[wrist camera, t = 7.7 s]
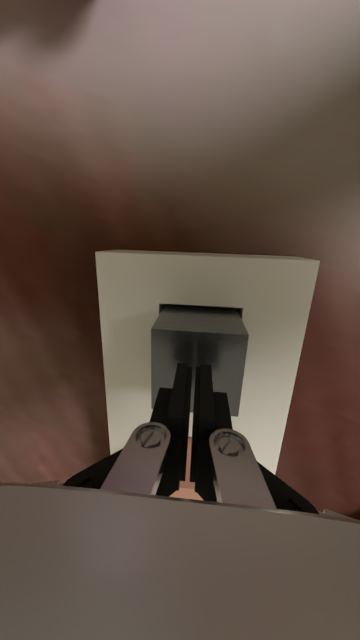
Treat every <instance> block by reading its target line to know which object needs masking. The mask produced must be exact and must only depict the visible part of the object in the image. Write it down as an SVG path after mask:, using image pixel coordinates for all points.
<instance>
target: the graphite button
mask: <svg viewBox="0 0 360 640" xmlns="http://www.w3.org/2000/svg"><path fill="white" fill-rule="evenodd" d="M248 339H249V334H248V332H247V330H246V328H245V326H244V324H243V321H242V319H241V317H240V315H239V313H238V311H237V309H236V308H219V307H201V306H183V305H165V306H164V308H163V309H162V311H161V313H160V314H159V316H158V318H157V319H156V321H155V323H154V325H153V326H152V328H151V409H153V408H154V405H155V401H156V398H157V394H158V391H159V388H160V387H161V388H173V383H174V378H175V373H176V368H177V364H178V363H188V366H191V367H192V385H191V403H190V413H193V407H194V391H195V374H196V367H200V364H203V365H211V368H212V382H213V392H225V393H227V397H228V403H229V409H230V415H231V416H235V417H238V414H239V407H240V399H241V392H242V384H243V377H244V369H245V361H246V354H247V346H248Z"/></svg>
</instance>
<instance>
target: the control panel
mask: <svg viewBox="0 0 360 640" xmlns="http://www.w3.org/2000/svg"><path fill="white" fill-rule="evenodd" d="M95 257H96V270H97V283H98V296H99V310H100V323H101V336H102V350H103V363H104V376H105V390H106V403H107V416H108V430H109V443H110V455H112V454H113V453H115V452H117V451H119V450H121V449H122V448H124V446H125V444H126V443H127V441H128V439H129V437H130V436H131V434H132V432H133V431H134V430H135V428H137V427H138V426H139V425H141V424H144V423H148V422H150V418H151V415H152V412H153V409H151V328H152V326H153V325H154V323H155V321H156V319H157V318H158V316H159V314H160V313H161V311H162V309H163V308H164V306H165V305H167V304H180V305H198V306H216V307H234V308H236V309H237V311H238V313H239V315H240V317H241V319H242V321H243V324H244V326H245V328H246V330H247V332H248V334H249V339H248V346H247V354H246V361H245V369H244V377H243V384H242V392H241V399H240V407H239V414H238V417H235V416H231V421H232V428H233V430H235V431H237V432H239V433H241V434H242V435H243V436H244V437H246V439H247V440H248V442H249V444H250V446H251V449H252V451H253V453H254V456H255V458H256V461H257V462H259V463H260V464H261V465H263V466H264V467H265V468H266V469H268V470H269V471H270V472H272V473H273V474H274V475H275V473H276V468H277V463H278V459H279V454H280V449H281V444H282V440H283V435H284V430H285V425H286V421H287V416H288V411H289V406H290V402H291V397H292V392H293V387H294V383H295V378H296V373H297V368H298V364H299V359H300V354H301V349H302V345H303V340H304V335H305V330H306V326H307V321H308V316H309V311H310V306H311V302H312V297H313V292H314V287H315V283H316V278H317V273H318V268H319V264H320V261H319V260H313V259H308V258H302V257H297V256H272V255H246V254H220V253H195V252H169V251H143V250H117V249H116V250H107V251H98V252H95ZM192 425H193V413H190V420H189V434H188V437H192Z"/></svg>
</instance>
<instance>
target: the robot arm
mask: <svg viewBox="0 0 360 640" xmlns="http://www.w3.org/2000/svg"><path fill="white" fill-rule="evenodd" d="M191 385H192V367H191V366H188V363H178V364H177V368H176V373H175V378H174V383H173V388H161V387H160V388H159V391H158V394H157V398H156V401H155V405H154V408H153V412H152V415H151V418H150V422H148V423H144V424H141V425H139V426H138V427H137V428H135V430H134V431H133V432H132V434H131V436H130V437H129V439H128V441H127V443H126V444H125V446H124V448H122V449H121V450H119V451H117V452H115V453H113V454H112V455H110V456H108V457H106V458H104V459H103V460H101V461H99V462H97V463H95V464H94V465H92V466H90V467H88V468H86V469H85V470H83V471H81V472H79V473H77V474H75V475H74V476H72V477H71V478H70V479H68V480H67V481H66V482H65V483H61V484H60V482H59V480H54V481H45V482H36V483H16V482H11V483H0V640H360V520H357V519H354V518H351V517H348V516H344V515H341V514H338V513H335V512H332V511H329V510H326V509H324V511H323V513H322V512H319V511H317V510H316V508H315V507H314V506H313V505H312V504H311V503H310V502H309V501H308V500H306V499H305V498H304V497H303V496H301V495H300V494H299V493H297V492H296V491H295V490H294V489H292V488H291V487H290V486H288V485H287V484H286V483H285V482H283V481H282V480H281V479H279V478H278V477H277V476H275V475H274V474H273V473H272V472H270V471H269V470H268V469H266V468H265V467H264V466H263V465H261V464H260V463H259V462H257V461H256V458H255V456H254V453H253V451H252V449H251V446H250V444H249V442H248V440H247V439H246V437H244V436H243V435H242V434H241V433H239V432H237V431H235V430H233V428H232V421H231V415H230V409H229V403H228V397H227V393H225V392H213V382H212V368H211V365H203V364H200V367H196V374H195V391H194V407H193V425H192V445H191V464H190V482H195V492H196V493H198V495H199V496H200V497H201V498H202V499H203V500H204V501H203V500H194V499H185V498H176V497H169V496H170V495H172V494H173V493H174V492H175V491H179V486H180V481H185V477H186V462H187V448H188V434H189V420H190V403H191Z"/></svg>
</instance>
